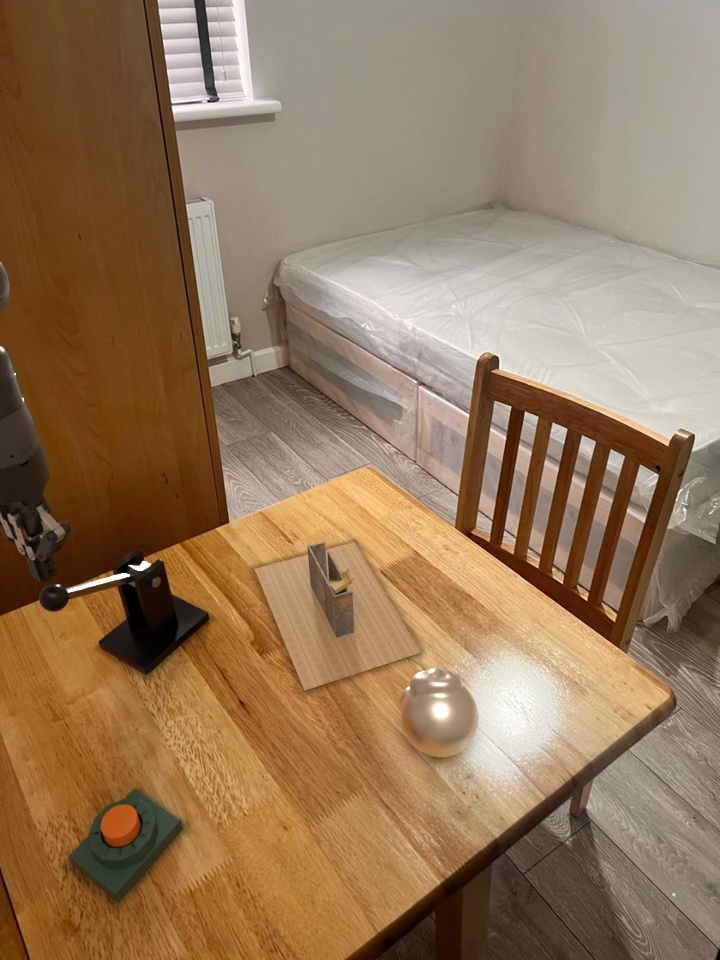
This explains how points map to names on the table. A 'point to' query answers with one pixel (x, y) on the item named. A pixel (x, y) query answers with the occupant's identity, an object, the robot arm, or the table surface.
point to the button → (120, 825)
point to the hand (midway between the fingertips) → (46, 576)
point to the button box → (126, 847)
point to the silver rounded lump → (438, 713)
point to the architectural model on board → (333, 614)
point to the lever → (86, 588)
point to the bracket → (150, 617)
